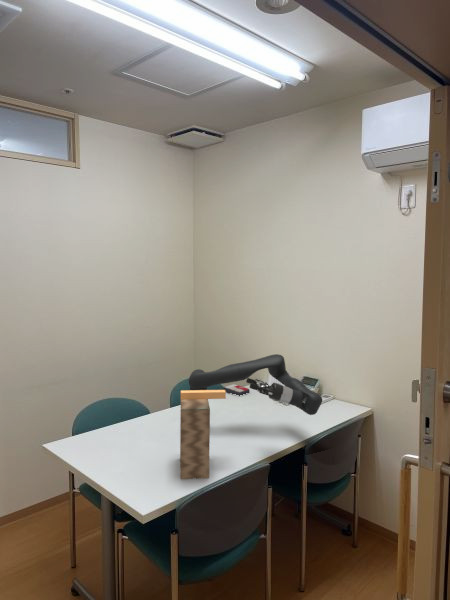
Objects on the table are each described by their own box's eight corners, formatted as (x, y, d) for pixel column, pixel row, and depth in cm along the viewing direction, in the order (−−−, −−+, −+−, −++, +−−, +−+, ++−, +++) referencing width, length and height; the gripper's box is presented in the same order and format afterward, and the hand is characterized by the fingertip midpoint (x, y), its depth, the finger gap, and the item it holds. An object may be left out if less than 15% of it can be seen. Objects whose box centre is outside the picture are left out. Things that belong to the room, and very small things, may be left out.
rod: (180, 399, 197) (180, 392, 197) (180, 397, 201) (180, 390, 200) (225, 398, 199) (225, 392, 199) (224, 396, 203) (224, 389, 202)
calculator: (239, 391, 302) (223, 386, 312) (239, 397, 302) (223, 392, 313) (250, 388, 310) (234, 383, 320) (249, 394, 310) (233, 388, 320)
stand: (180, 479, 187) (181, 409, 184) (180, 458, 206) (180, 394, 204) (209, 478, 188) (209, 408, 185) (206, 457, 208) (206, 394, 205)
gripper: (279, 381, 213) (248, 371, 211) (287, 390, 199) (254, 379, 197) (274, 395, 214) (243, 385, 211) (281, 405, 200) (248, 395, 197)
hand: (248, 382), depth 204 cm, fingers open, 8 cm apart
